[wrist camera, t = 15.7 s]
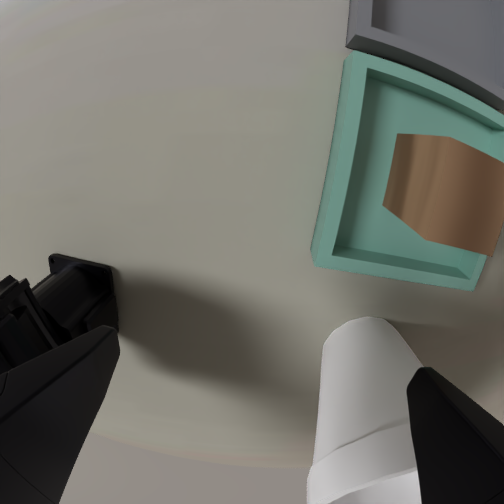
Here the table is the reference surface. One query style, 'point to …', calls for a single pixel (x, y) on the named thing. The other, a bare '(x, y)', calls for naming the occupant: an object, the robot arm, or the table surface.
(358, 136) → the tray
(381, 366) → the foam cup
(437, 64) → the tray
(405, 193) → the walnut block
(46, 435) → the robot arm
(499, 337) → the table surface
